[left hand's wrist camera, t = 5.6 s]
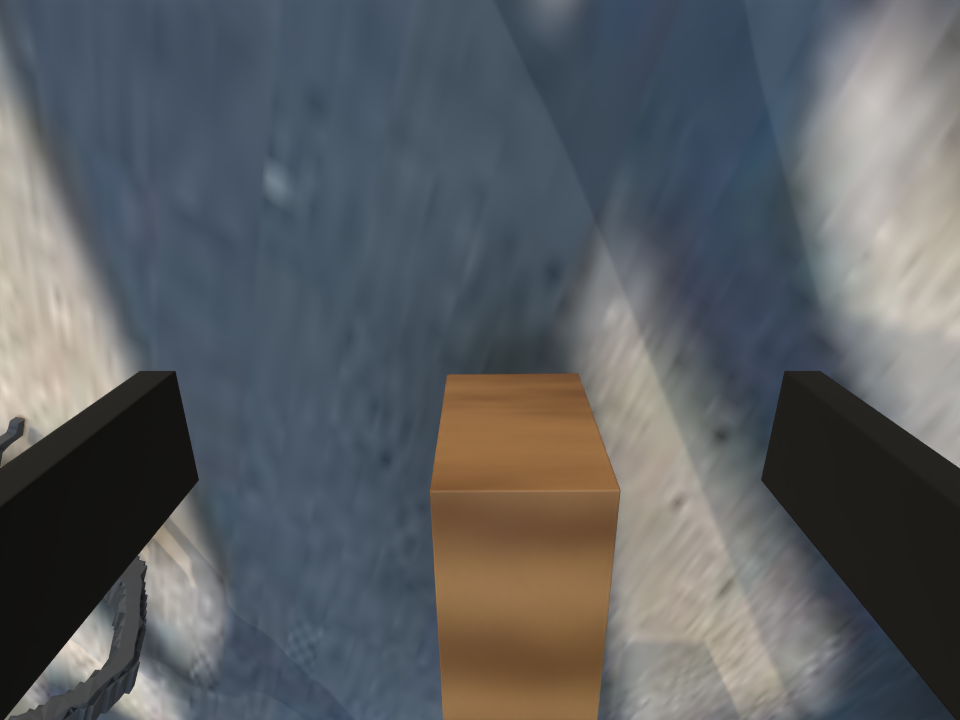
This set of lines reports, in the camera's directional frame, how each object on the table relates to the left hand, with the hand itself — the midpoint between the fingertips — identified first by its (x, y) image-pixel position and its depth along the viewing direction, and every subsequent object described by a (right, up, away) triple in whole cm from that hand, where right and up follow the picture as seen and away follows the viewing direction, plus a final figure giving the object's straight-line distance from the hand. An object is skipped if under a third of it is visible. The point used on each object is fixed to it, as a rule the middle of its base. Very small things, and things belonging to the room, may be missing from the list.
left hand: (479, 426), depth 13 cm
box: (+2, -13, +26) cm, 29 cm away
